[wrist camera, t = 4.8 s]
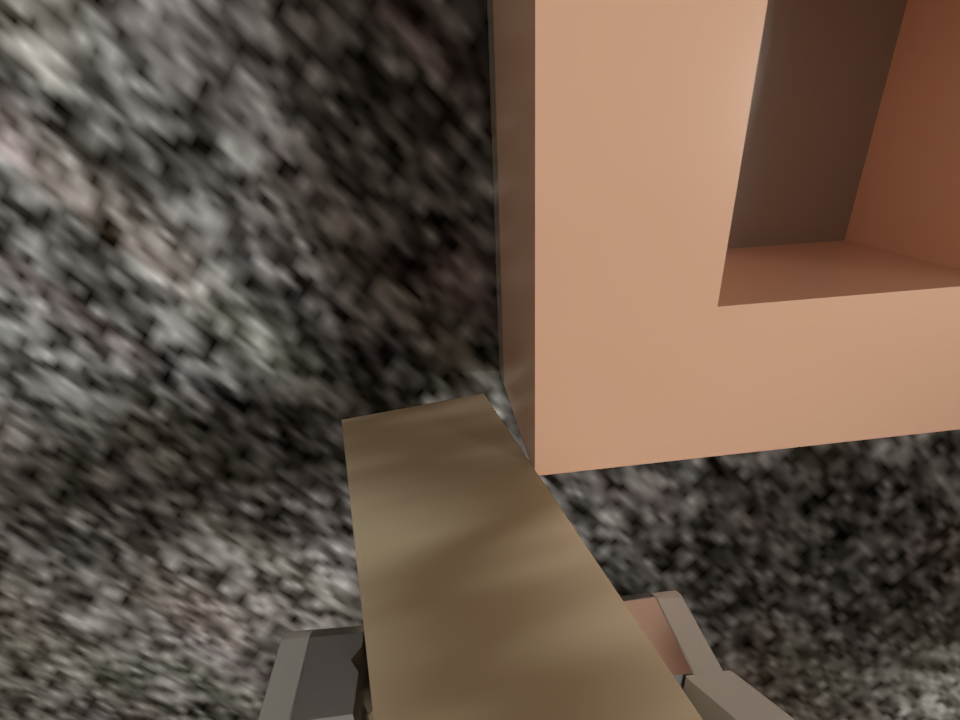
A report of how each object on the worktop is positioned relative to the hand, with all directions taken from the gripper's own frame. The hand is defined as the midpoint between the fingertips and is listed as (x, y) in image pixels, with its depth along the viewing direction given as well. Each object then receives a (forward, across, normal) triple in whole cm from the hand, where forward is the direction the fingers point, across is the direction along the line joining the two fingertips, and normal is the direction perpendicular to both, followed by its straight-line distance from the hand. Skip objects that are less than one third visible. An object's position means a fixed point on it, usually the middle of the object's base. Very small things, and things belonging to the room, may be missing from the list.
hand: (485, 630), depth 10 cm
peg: (+6, +1, 0) cm, 6 cm away
